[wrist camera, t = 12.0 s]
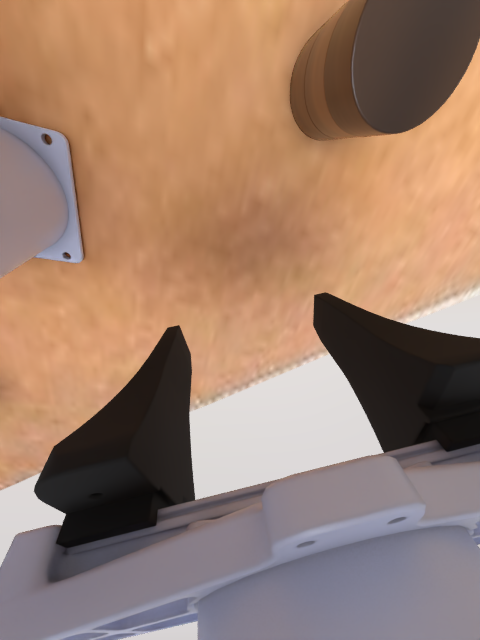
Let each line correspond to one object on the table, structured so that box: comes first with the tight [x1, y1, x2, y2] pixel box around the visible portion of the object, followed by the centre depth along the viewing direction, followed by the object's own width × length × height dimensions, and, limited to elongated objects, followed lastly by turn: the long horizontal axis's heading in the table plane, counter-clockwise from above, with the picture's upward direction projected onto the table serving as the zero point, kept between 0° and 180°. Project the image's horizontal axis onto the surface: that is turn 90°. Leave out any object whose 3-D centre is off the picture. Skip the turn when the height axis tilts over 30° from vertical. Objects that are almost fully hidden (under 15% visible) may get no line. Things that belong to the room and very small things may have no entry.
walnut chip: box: [324, 0, 480, 137], centre depth 10 cm, size 5×5×2 cm
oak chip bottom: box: [290, 20, 337, 140], centre depth 14 cm, size 5×5×2 cm
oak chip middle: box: [305, 0, 357, 139], centre depth 12 cm, size 5×5×2 cm
